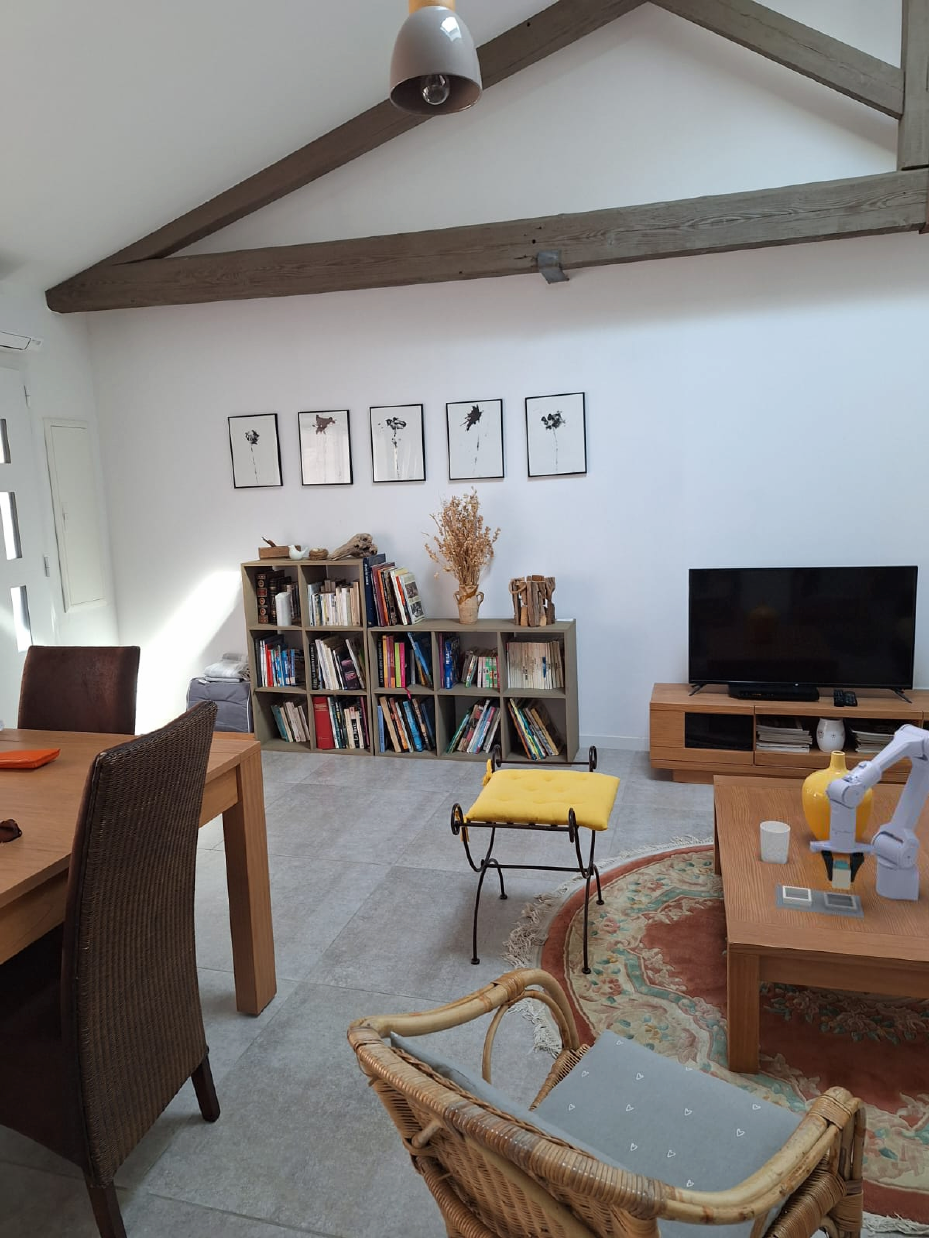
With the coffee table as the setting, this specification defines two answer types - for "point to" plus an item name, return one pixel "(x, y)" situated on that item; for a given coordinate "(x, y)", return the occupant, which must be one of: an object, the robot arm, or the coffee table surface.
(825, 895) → the frame
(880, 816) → the coffee table surface
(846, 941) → the coffee table surface
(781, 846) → the white cup
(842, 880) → the plug
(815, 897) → the panel plate
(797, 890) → the port
